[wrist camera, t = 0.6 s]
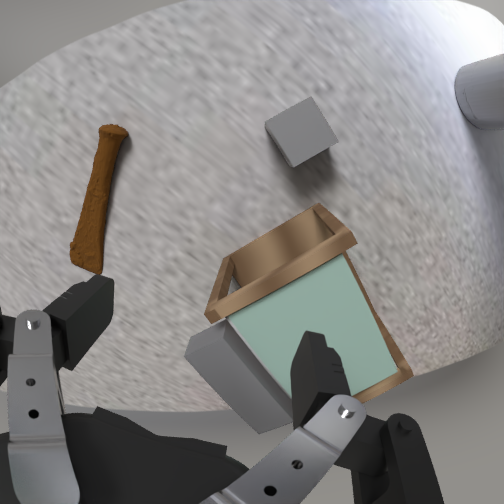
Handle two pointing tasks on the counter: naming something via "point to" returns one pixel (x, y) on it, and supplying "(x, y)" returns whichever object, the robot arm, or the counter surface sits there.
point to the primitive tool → (96, 202)
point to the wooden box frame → (295, 274)
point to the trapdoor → (290, 343)
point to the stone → (301, 132)
